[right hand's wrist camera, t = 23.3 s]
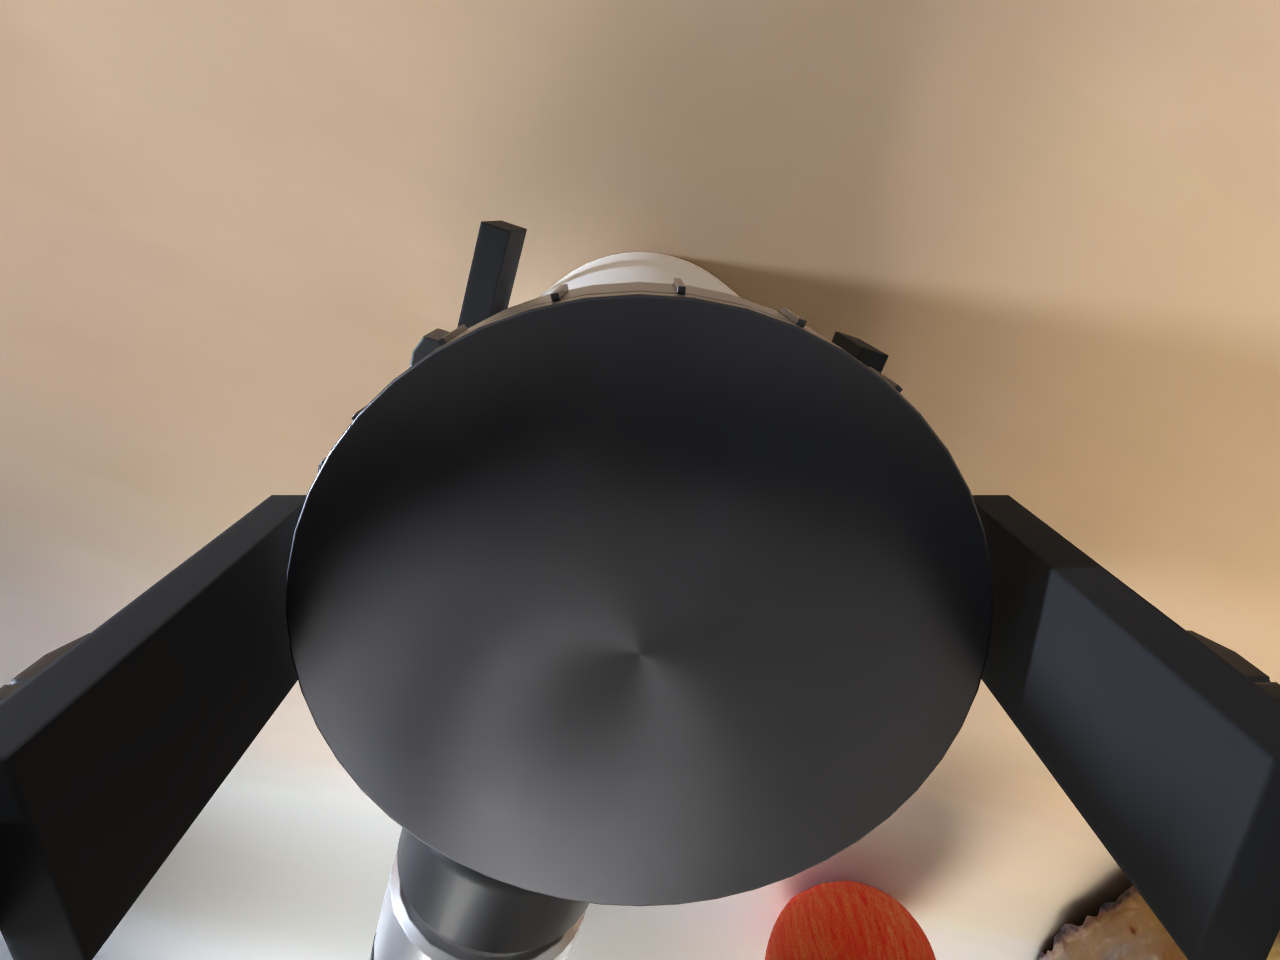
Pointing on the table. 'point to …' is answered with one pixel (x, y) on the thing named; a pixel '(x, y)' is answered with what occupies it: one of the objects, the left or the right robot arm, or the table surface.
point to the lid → (639, 596)
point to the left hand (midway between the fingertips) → (687, 285)
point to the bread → (1122, 935)
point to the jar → (640, 272)
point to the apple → (846, 926)
